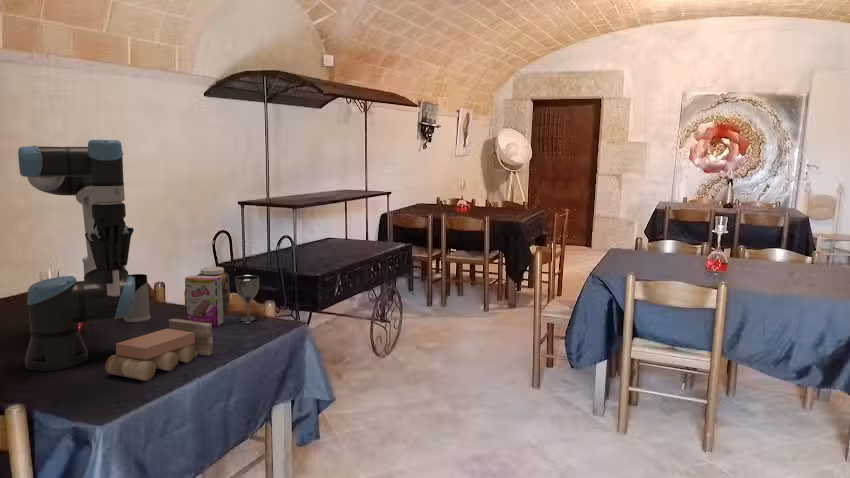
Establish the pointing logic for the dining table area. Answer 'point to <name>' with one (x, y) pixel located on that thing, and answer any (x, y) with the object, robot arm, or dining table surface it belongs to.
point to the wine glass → (247, 290)
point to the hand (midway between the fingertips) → (113, 295)
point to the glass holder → (140, 300)
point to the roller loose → (185, 353)
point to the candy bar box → (204, 299)
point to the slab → (155, 343)
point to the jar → (225, 282)
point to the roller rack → (164, 361)
